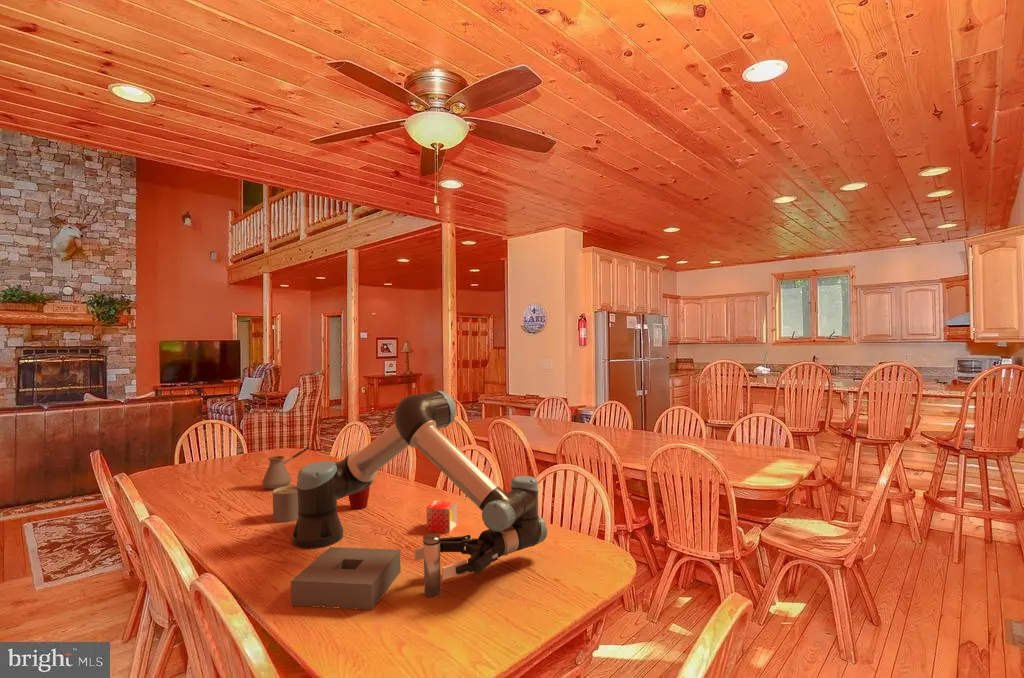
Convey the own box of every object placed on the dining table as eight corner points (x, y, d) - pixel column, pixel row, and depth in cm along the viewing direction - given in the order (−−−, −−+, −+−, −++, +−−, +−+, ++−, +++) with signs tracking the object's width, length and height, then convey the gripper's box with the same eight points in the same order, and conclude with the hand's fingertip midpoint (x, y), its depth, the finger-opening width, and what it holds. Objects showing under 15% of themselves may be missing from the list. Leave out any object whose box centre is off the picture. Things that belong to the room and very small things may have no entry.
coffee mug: (283, 524, 179) (283, 495, 179) (267, 518, 185) (267, 490, 185) (317, 513, 190) (317, 485, 190) (301, 508, 196) (300, 481, 196)
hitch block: (291, 605, 124) (290, 580, 124) (330, 568, 144) (330, 547, 144) (371, 610, 121) (371, 584, 121) (400, 571, 141) (400, 549, 141)
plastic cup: (337, 510, 193) (336, 478, 193) (356, 501, 203) (355, 470, 203) (361, 513, 189) (360, 480, 189) (379, 504, 199) (378, 473, 199)
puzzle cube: (449, 533, 169) (449, 508, 169) (426, 531, 171) (426, 507, 170) (457, 524, 177) (456, 501, 177) (435, 523, 178) (434, 500, 178)
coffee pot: (269, 493, 216) (269, 457, 216) (257, 488, 224) (256, 453, 224) (317, 481, 233) (317, 448, 232) (304, 477, 240) (304, 445, 240)
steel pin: (421, 597, 127) (420, 540, 127) (426, 589, 131) (425, 533, 131) (438, 598, 127) (437, 540, 126) (443, 589, 131) (442, 534, 131)
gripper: (527, 571, 131) (455, 598, 118) (472, 541, 151) (405, 562, 138) (527, 541, 131) (455, 565, 118) (471, 516, 151) (405, 534, 138)
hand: (428, 564), depth 128 cm, fingers open, 13 cm apart
